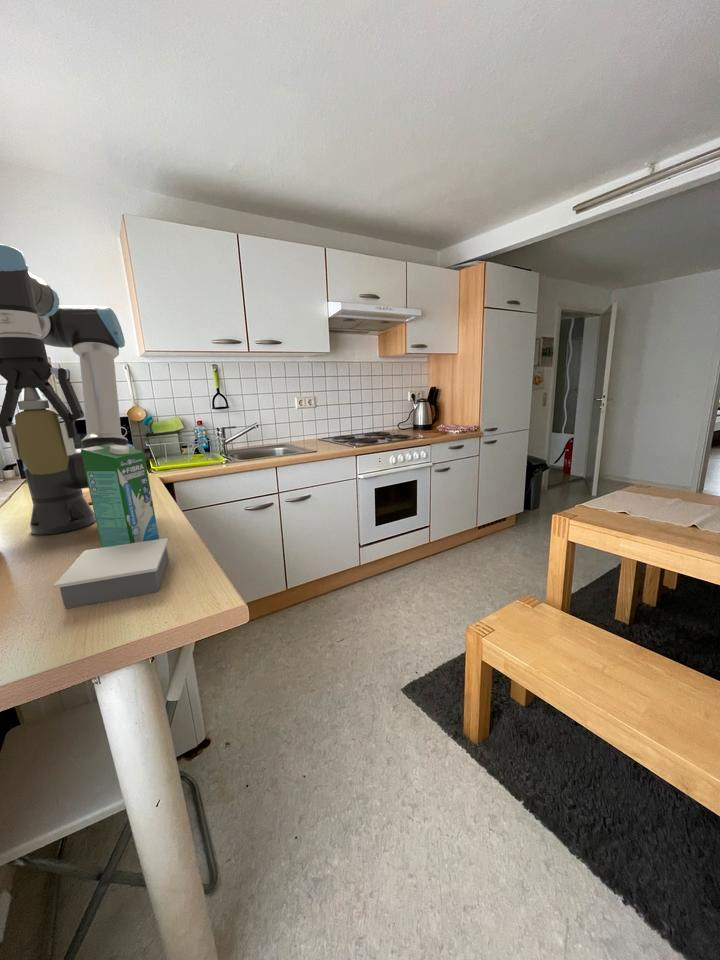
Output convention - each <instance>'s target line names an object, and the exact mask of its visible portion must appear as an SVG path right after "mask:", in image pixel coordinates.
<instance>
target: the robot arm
mask: <svg viewBox="0 0 720 960" xmlns="http://www.w3.org/2000/svg"><path fill="white" fill-rule="evenodd" d="M119 321H120V320H119V319H118V316H117V314H116V313H115V312H114V310H113V309H112V308H110V307H109V306H98V305H94V304H93V305H60V298H59V295H58V293H57V291H56V290H55V289H54V288H53V287H52V286H51V285H50V284H48V282H46V281H45V280H44V279H42V278H40V277H37V276H36V275H34V274H32V273H31V272H29V265H28V264H27V262H26V257H25V255H24V253H23V252H22V251H20V250H19V249H18V248H16V247H13V246H10V245H7V244H1V243H0V376H1V377H2V378H3V379H4V380H6V385H5V393H4V397H3V400H2V401H3V402H2V405H1V409H0V432H1V434H2V439H3V442H4V443H8V444H10V448H11V451H12V455H13V459H14V461H16V460H21V459H20V456H19V447H18V439H17V431H16V424H14V422H13V421H14V418H15V415H16V414H15V413H16V409H17V407H18V406H17V405H18V401H19V399H20V395H21V393H22V392H23V390H24V388H26V387H30V388H36V389H38V391H40V393H42V394H43V395H44V396H45V398H46V400H48V403H49V404H51V406H52V408H54V410H55V411H56V413H57V415H59V417H60V418H61V419H62V422H60V427H61V431H62V436H63V440H64V445H65V449H66V453H67V455H69V461H68V467H67V469H66V470H64V471H61V472H57V473H52V474H42V475H37V474H31V473H30V471H29V470H28V469H27V467H26V466H25V464H24V463H23V462H22V465H23V466H22V467H23V472H24V475H25V478H26V482H27V486H28V489H29V494H30V497H31V501H32V510H31V515H30V516H31V518H30V523H29V526H30V530H31V533H32V534H33V535H37V536H43V535H44V536H45V535H55V534H61V533H62V532H63V533H66V531H68V532H72V531H75V530H74V529H76V530H78V528H79V529H82V528H85V527H87V526H89V525H91V524H93V523H95V522H96V519H95V514H94V510H93V508H92V507H91V506H90V504H89V503H88V502H87V500H86V498H85V497H84V492H83V489H89V486H88V482H87V477H86V472H85V468H84V463H83V458H82V454H81V449H83V448H89V447H94V446H100V445H105V444H110V443H113V444H117V445H124V446H128V447H129V448H132V449H136V447H135V446H134V445H133V444H130V443H129V440H128V438H127V437H125V436H124V435H123V434H122V428H121V427H122V426H121V418H120V417H121V415H120V407H119V396H118V395H119V394H118V386H117V376H116V367H115V366H116V365H115V359H116V358H117V357H119V355H120V349H122V348H124V347H125V346H126V341H125V337H124V333H123V330H122V325H121V324H120V322H119ZM46 346H49V347H56V348H65V349H69V348H72V352H73V353H74V354H75V355H77V357H79V365H80V375H81V376H80V377H81V385H82V395H83V405H84V410H83V409H82V408H83V407H81V404H80V401H79V399H78V397H77V394H76V391H75V389H74V386H73V384H72V383H71V371H70V370H69V369H68V368H65V367H64V368H63V367H60V368H58V367H57V368H56V367H53V366H52V365H51V364H50V363H49V359H48V355H47V350H46ZM119 348H120V349H119ZM52 374H53V375H54V378H55V379H57V380H58V383H59V386H60V388H61V390H62V393H63V395H64V397H65V399H66V402H67V404H68V406H69V408H68V407H67V406H66V405H65V403H64V402H63V400H62V399H61V397H59V395H58V394H57V392H56V390H54V387H53V385H52V384H51V383H50V382H49V379H50V377H51V376H52ZM84 417H85V426H86V427H85V428H86V435H85V436H84V438H82V439H81V440H80V444H81V447H80V448H75V442H74V439H76V438H77V437H78V431H77V427H76V421H77V420H79V419H82V418H84ZM13 424H14V425H13ZM71 530H72V531H71Z"/></svg>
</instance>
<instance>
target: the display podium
mask: <svg viewBox="0 0 720 960" xmlns="http://www.w3.org/2000/svg"><path fill="white" fill-rule="evenodd" d="M168 542H169V538H168V537H166V538H160V539H159V538H158V539H154V540H151V541H144V542H137V543H131V544H124V545H117V546H110V547H103V548H102V547H97V548H91V549H85V550H83V551H82V553H81V554H79V556H78V557H77V558H76V559H75V560H74V562H73V563H72V564H71V565H70V567H69V568H67V570H66V571H65V572H64V573H63V574H62V575H61V577H60V578H59V579H57V581H56V582H55V583H54V589H58V588H59V591H60V595H61V598H62V603H63V606H64V609H73V608H77V607H83V606H87V605H93V604H99V603H104V602H110V601H114V600H120V599H121V600H122V599H125V598H131V597H132V598H133V597H135V596H141V595H146V594H147V595H148V594H152V593H158V592H159V591H160V588H161V584H162V582H163V578H164V576H165V573H166V570H167V566H168V564H169V560H170V559H169V554H168V549H167V548H168V547H167V545H168Z"/></svg>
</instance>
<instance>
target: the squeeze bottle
mask: <svg viewBox="0 0 720 960" xmlns="http://www.w3.org/2000/svg"><path fill="white" fill-rule="evenodd" d="M49 404H50V402H49V401H48V399H42V398H41V396H40V395H39V392H38V390H37V388H30V387H26V388H24V389H23V400H18V403H17V405H18V406H17V407H18V409H19V410H22V411H20V412H17V413H16V414H14V420H15V421H14V422H15V423H14V424H15V425H16V431H17V439H18V447H19V456H20V459H19V460H21V461H22V464H23V463H24V464H25V466H26V467H27V469H28V470H29V471H30V473H31V474H37V475H42V474H52V473H57V472H61V471H64V470H66V469H67V467H68V461H69V455H67V453H66V449H65V445H64V440H63V436H62V431H61V427H60V423H61V422H60V420H59V419H60V418H59V417H58V412H55V411H54V410H50V405H49Z"/></svg>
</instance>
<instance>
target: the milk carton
mask: <svg viewBox="0 0 720 960" xmlns="http://www.w3.org/2000/svg"><path fill="white" fill-rule="evenodd" d="M81 454H82V458H83V463H84V468H85V472H86V477H87V482H88V486H89V488H88V490H89V495H90V499H91V504H92V510H93V512H94V514H95V519H96V520H95V523H96V529H97V532H98V537H99V542H100V546H101V547H100V548H103V547H110V546H117V545H124V544H131V543H137V542H144V541H151V540H157V538H159V537H160V536H159V530H158V529H159V528H158V526H157V525H158V524H157V520H156V519H157V518H156V513H155V508H154V503H153V502H154V500H153V496H152V490H151V484H150V479H149V473H148V467H147V462H146V455H145V451H142V450H138V449H136V448H135V449H132V448H129V447H128V446H124V445H117V444H113V443H110V444H105V445H100V446H94V447H89V448H83V449H81Z"/></svg>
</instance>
